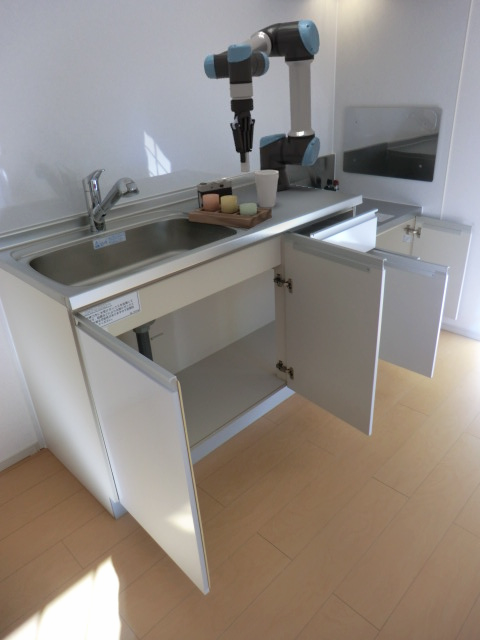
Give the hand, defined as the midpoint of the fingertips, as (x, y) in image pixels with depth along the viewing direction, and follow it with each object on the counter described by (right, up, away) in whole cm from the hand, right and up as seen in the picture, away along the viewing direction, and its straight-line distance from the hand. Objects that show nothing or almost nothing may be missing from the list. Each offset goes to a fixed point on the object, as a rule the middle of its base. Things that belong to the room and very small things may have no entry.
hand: (245, 171), depth 169 cm
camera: (-13, -5, +30) cm, 33 cm away
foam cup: (+9, -6, +25) cm, 27 cm away
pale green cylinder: (+1, -16, +4) cm, 16 cm away
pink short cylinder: (-13, -11, +11) cm, 20 cm away
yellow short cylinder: (-6, -12, +7) cm, 15 cm away
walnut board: (-6, -15, +9) cm, 18 cm away
